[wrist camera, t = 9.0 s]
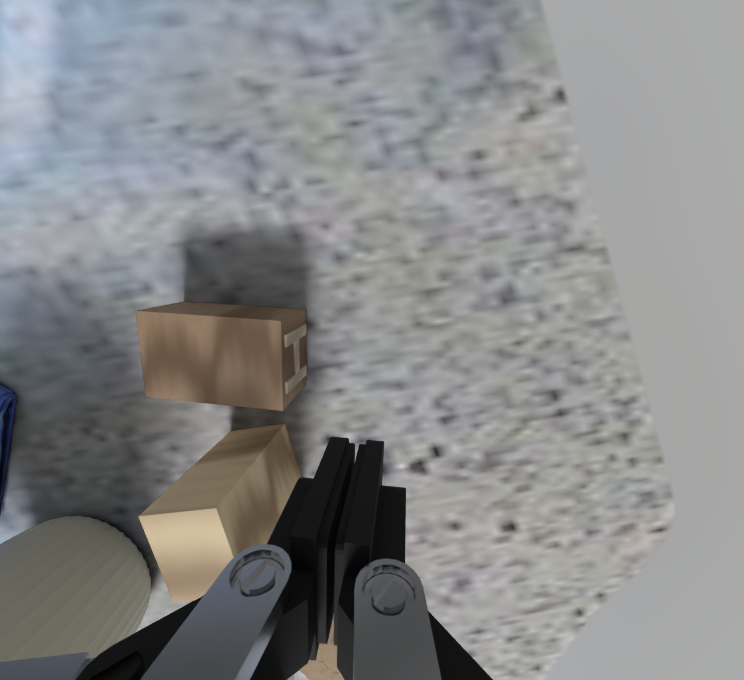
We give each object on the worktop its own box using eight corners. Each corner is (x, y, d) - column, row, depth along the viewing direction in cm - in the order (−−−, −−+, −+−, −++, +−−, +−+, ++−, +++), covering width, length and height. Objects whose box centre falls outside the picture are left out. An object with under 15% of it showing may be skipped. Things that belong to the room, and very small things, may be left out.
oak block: (230, 431, 30) (138, 516, 20) (285, 423, 29) (216, 508, 19) (251, 492, 31) (173, 601, 21) (304, 487, 30) (247, 597, 20)
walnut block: (308, 309, 26) (185, 301, 28) (283, 321, 21) (135, 310, 23) (308, 384, 28) (191, 373, 29) (284, 411, 23) (145, 396, 24)
